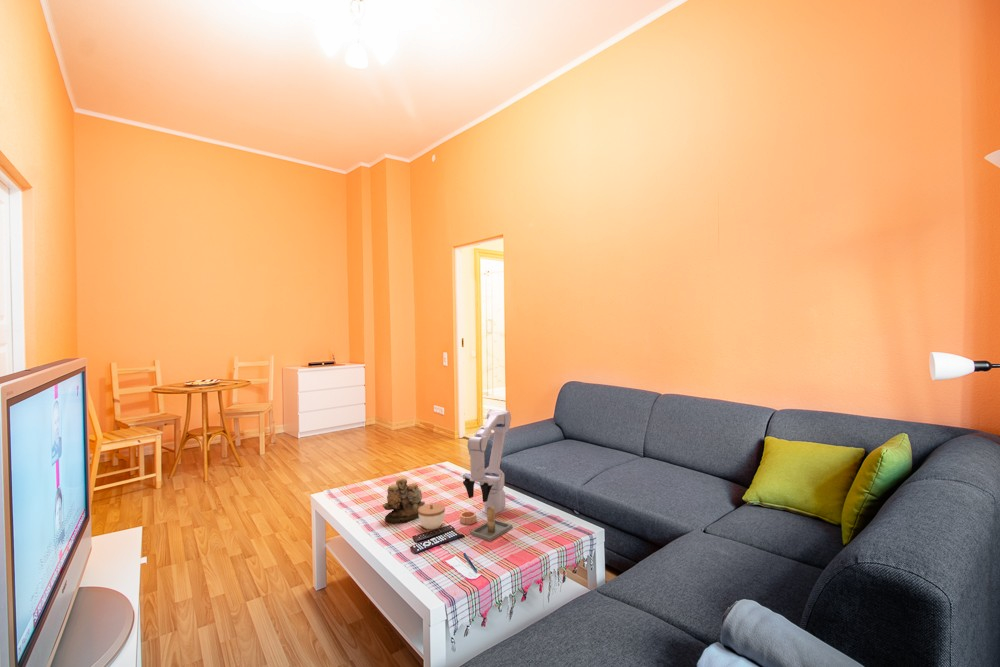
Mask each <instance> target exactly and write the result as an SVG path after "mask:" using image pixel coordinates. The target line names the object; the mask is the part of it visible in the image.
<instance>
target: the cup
mask: <svg viewBox="0 0 1000 667" xmlns="http://www.w3.org/2000/svg"><path fill="white" fill-rule="evenodd" d="M459 521H460V522H459V523H460V524H463V525H473V524H475V523H476V522H477V513H476V512H475V511H471V510H467V511H466V510H465V511H463V512H460V513H459Z"/></svg>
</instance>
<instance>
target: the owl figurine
mask: <svg viewBox="0 0 1000 667" xmlns="http://www.w3.org/2000/svg"><path fill="white" fill-rule="evenodd" d="M407 483H408V480H407V478H405V477H398V479H397V480H396V481H395V483H392V484H390V485H389V486H388V487H387V495H386V501H387V502H386V503H385V502H384V503H383V504H382V507H383V508H384V510H385V511H390V512H388V513H387V514H386V515H385V516H384V520H385V521H386V523H389V524H392V525H393V524H396V525H397V524H407V523H408V522H411V521H414V520H417V519H419V513H418V509H419V508H420V507H421V506H423V505H426V502H425V501H422V500H423V494H422V489H421V488H420V487H419V485H418V484H417V483H414V482H413V483H411V484H409V485H408V484H407ZM391 510H392V511H391Z"/></svg>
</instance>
